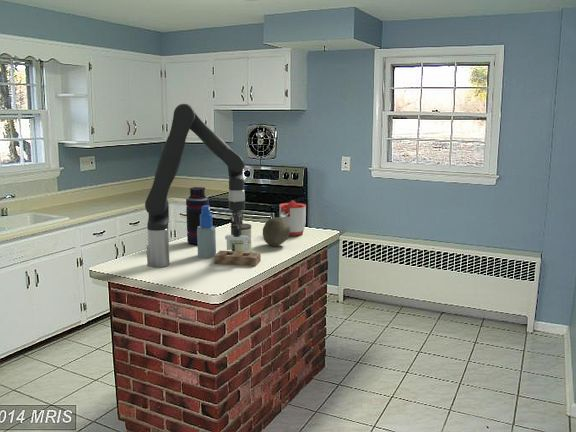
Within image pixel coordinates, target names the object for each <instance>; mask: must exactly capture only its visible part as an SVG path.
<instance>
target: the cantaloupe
mask: <svg viewBox="0 0 576 432" xmlns="http://www.w3.org/2000/svg"><path fill="white" fill-rule="evenodd" d="M289 234H290V227H289V224H288V223H287V222H286V221H285V220H284V219H282V218H280V217H278V216H276V217H271V218H269V219H267V221H266V222H265V223H264V226H263V228H262V236H263V240H264V242H265V243H266V244H268V245H269V246H271V247H278V246H281V245H282V244H284V243H285V242H286V240H288V238H289V236H290V235H289Z"/></svg>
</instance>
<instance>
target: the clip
mask: <svg viewBox="0 0 576 432" xmlns="http://www.w3.org/2000/svg"><path fill="white" fill-rule="evenodd" d="M235 226H236V225H235ZM224 239H225V240H226V251H231V249H232V240H243V251H247V250H248V240H249V239H250V236H244V235H241V225H239V236H238V237H234V229H233V235H231V234H225V236H224Z"/></svg>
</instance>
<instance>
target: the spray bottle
mask: <svg viewBox="0 0 576 432" xmlns="http://www.w3.org/2000/svg"><path fill="white" fill-rule="evenodd" d="M210 208H211V206H210V204H209V205H204V206H202V211H201V214H200V226H198V227H197V257H198V258H200V259H211V258H212V259H214V255H215V254H217V244H216V243H217V242H216V241H217V239H216V237H217V236H216V235H217V233H216V226H215V225H213V214H212V213H211V209H210Z"/></svg>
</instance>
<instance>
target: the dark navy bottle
mask: <svg viewBox="0 0 576 432" xmlns="http://www.w3.org/2000/svg"><path fill="white" fill-rule="evenodd" d="M206 192H207V194H208V196H207V195H206ZM189 193H190V195H189V197H187V198H185V205H186V207H185V208H186V209H185V213H186V232H187V233H186V234H187V236H186V239H187V243H188V245H191V244H197V227H198V226H200V214H201V211H202V206H204V205H209V206H210V201H209V196H210V193H209V191H208V190H207V189H206V187H204V186H203V187H202V186H201V187H200V186H192V187H190V188H189ZM197 245H198V244H197Z"/></svg>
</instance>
